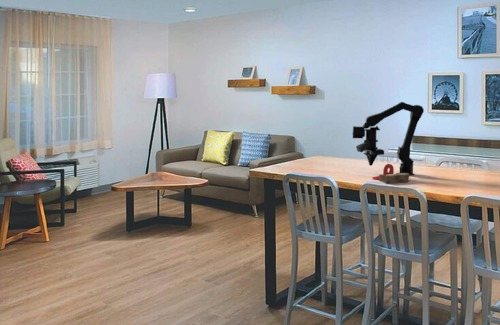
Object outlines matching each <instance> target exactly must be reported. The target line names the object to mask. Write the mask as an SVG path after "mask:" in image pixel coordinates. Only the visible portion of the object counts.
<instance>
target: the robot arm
mask: <svg viewBox="0 0 500 325" xmlns="http://www.w3.org/2000/svg"><path fill="white" fill-rule="evenodd" d="M402 110H403V111H408V112H409V114H410V115H409V123H408V126H407V130H406V132H405V135H404V136H405V137H404V138H403V139H404V140H403V143H402V145H401V146H398V148H397V152H396V154H397V156H396V157H397V159H399V160H400V162H401V163H400V166H399V173H400V174H401V173H409V176H413V175H415V173H414V160H413V159H412V158H411V145H412V143H413V138H414V135H415V132H416V128H417V127H418V126H417V125H418V122H419V121H420V120H421V117H422V116H423V113H424V112H425V110H424V108H423V106H422V105H419V104H414V105H412V104H409V103H406V102H404V101H401V102H398V103H397V104H395V105H393V106H391V107H389V108H387V109H386V110H383V111H381V112H379V113H375V114H374V113H373V114H371V115H368V116H367V117H366V118H365V122H364V124H363V125H362V126H354V125H353V126H352V139H364V138H365V139H364V140H363V142H362V143H360V144H358V145H356V147H355V148H356V151H357V152H359V153H363V154H364V155H365V157H366V158H367V161H368V165H369V166H371V167H372V166H373V164H374V163H375V160H376V158H377V157H378V156H383V155H385V150H384V149H382V148H379V147H377V143H378V142H379V139H377V131H380V130H381V129H380V128H379V127H378V126H377V125H378V124H379V123H380V122H381V121H383V120H385V119H386V118H388V117H391V116H392V115H394V114H396V113H398V112H401V111H402Z"/></svg>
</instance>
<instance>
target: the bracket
mask: <svg viewBox="0 0 500 325" xmlns="http://www.w3.org/2000/svg"><path fill="white" fill-rule="evenodd" d="M388 169H389V171H388ZM394 170H395V168H394V166H393V164H391V163H387V164H385V165H384V167H383V169H382V172H383V173H382V175H385V176H386V175H389V174H395V173H394V172H395V171H394ZM372 180H375V181H380V175H378V176H377V175H376V176H372Z"/></svg>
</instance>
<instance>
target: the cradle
mask: <svg viewBox="0 0 500 325" xmlns="http://www.w3.org/2000/svg"><path fill="white" fill-rule="evenodd" d="M379 176H380V180H379V182H381V183H384V184H386V185H391V184H392V185H393V184H402V183H409V181H410V180H409V178H410V175H409V173H401V174H400V172H395V173H394V174H389V175H386V176H385V175H383V173H382V174H379Z"/></svg>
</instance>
